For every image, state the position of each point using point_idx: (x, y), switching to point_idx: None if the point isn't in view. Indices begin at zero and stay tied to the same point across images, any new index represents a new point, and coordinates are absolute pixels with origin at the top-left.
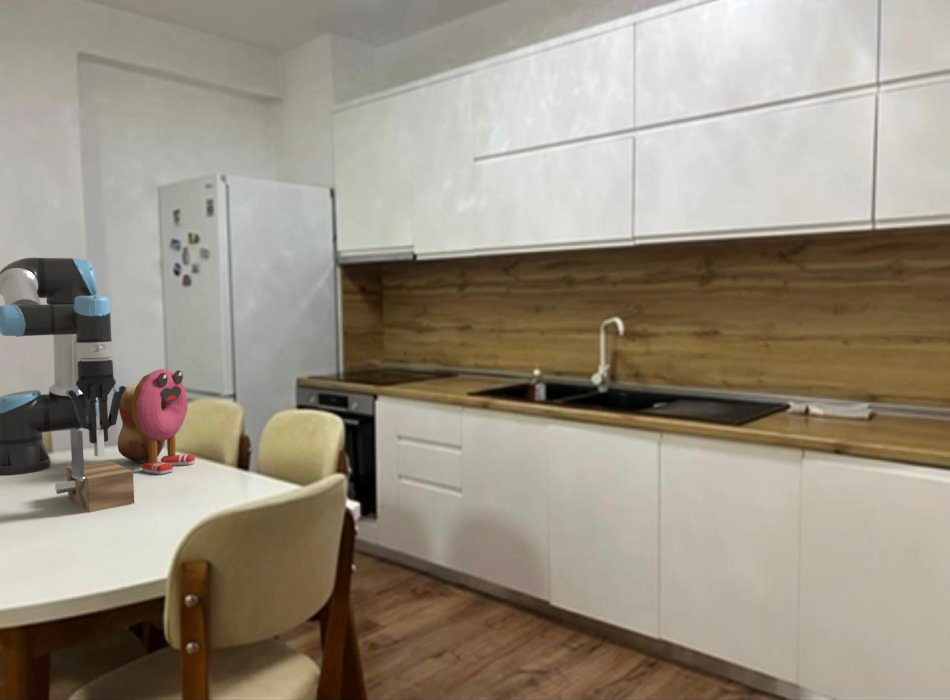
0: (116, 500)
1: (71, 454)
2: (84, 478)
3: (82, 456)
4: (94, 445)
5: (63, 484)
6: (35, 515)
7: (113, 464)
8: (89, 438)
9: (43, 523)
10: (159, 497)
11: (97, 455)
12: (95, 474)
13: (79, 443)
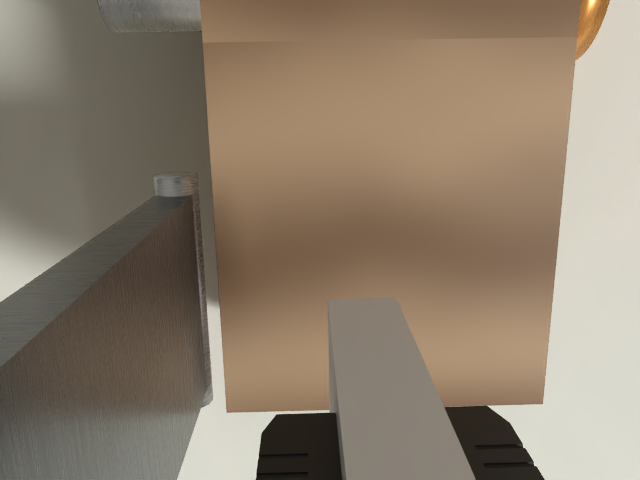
0: None
1: (93, 240)
2: (204, 400)
3: None
4: (332, 370)
5: (143, 14)
6: (12, 167)
7: (549, 3)
8: (258, 470)
9: None
10: (610, 289)
11: (329, 402)
12: (306, 304)
13: None
